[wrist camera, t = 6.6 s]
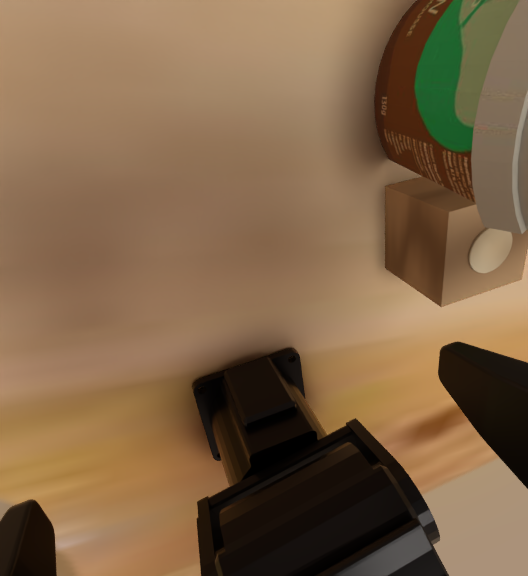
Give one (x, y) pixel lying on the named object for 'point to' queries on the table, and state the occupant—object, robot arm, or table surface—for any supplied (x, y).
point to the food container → (461, 102)
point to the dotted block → (446, 243)
